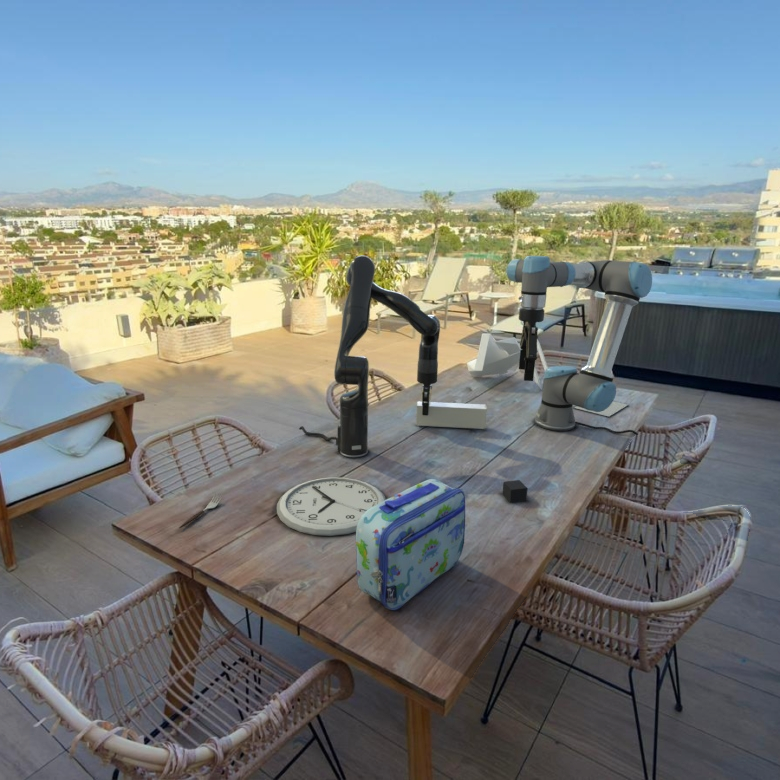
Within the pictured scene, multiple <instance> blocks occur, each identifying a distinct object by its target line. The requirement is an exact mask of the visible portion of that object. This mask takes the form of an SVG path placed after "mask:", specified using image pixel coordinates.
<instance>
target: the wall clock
mask: <svg viewBox="0 0 780 780" xmlns="http://www.w3.org/2000/svg"><path fill="white" fill-rule="evenodd" d="M385 500H387V498H386V496H385V494H384V493H383V492H382V491H381V490H380V489H379V488H377V487H376V486H374V485H372V484H371V483H369V482H365V481H362V480H359V479H355V478H349V477H338V476H337V477H335V476H333V477H332V476H331V477H322V478H317V479H312V480H307V481H305V482H302V483H299V484H297V485H295V486H293V487H292V488H290V489H288V490H287V491H286V492H285V493H284V494H283V495H281V496H280V498H279V499H278V502H277V503H276V515H277V517H278V518H279V520H280V521H281V522H282V523H283V524H285V525H286V526H287V527H288V528H290V529H293V530H295V531H297V532H299V533H303V534H308V535H312V536H327V537H328V536H329V537H331V536H332V537H333V536H342V535H350V534H352V533H356V529H357V525H358V522H359V520H360V518H361V516H362V515H363V513H364V512H365V511H366V510H368V509H369V508H371V507H373V506H375V505H377V504H379V503H381V502H383V501H385Z"/></svg>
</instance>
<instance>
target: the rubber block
mask: <svg viewBox="0 0 780 780" xmlns="http://www.w3.org/2000/svg"><path fill="white" fill-rule="evenodd" d="M502 483H503V484H502V495H503V496H504V497H505V499H506V500H507V501H508V502H509V503H519V502H526V501H527V499H528V498H527V497H528V486H526V485H525V484H524V483H523V482H522V481H521V480H520V479H516V480H507V481H503V482H502Z"/></svg>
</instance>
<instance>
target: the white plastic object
mask: <svg viewBox="0 0 780 780" xmlns="http://www.w3.org/2000/svg"><path fill="white" fill-rule="evenodd" d="M520 308H521V306H519V307H517V311H518V312H519V309H520ZM521 323H522V324H523V321H521ZM480 337H481V338H480V342H479V346H478V347H479V348H478V351H477V355H476V358H475V359H473V360H470V361H468V362H466V365H467V369H468V373H469V374H470V375H471V376H472V377H473V378H476V377H483V376H491V375H492V376H493V375H498V376H501V375H504V374H507V373H508V372H509V370H510V369H512V368H513V367H514V366H516V365H518V364H519V360H520V350H522V349H521V348H520V342H519V341H517V338H516V337H515V336H513V337H508V338H504V339H499V340H496V339H495V338H494V336H493V335H492V334H491V333H490V332H489V333H487V332H486V333H481V336H480ZM543 351H544V350H543V348H542V346H541V343H540V340H539V339H538V338H537V353H538V355H539V358H540V360H541V364H542V367H543V369H544V371H545V370H546V369H547V368H549V366H548V363H547V359H546V357H545V354H544V352H543ZM533 380H534V382H535V384H536V385H537V386H538V388H539V389H540V390H543V385H542V382H541V380H540V377H539V374H538V371H537V368H536V366H535V367H534V377H533Z"/></svg>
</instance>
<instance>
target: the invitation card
mask: <svg viewBox="0 0 780 780" xmlns="http://www.w3.org/2000/svg"><path fill="white" fill-rule="evenodd" d="M628 406H629V404H627V403H623V402H618V401H614V400H613V402H612V403H611V405H610V406H609V407H608V408H606V409H605V410H604V411H601V412H595V411H589V410H586V409H584V408H581V407H578V406H574V407H573V409H575V410H581V411H584V412H587V413H593V414H596V415H600V416H604V417H608V418H609V417H611V416H613V415H614V414H616V413H617V412H619V411H621V410H623V409H624V408H626V407H628Z"/></svg>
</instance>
